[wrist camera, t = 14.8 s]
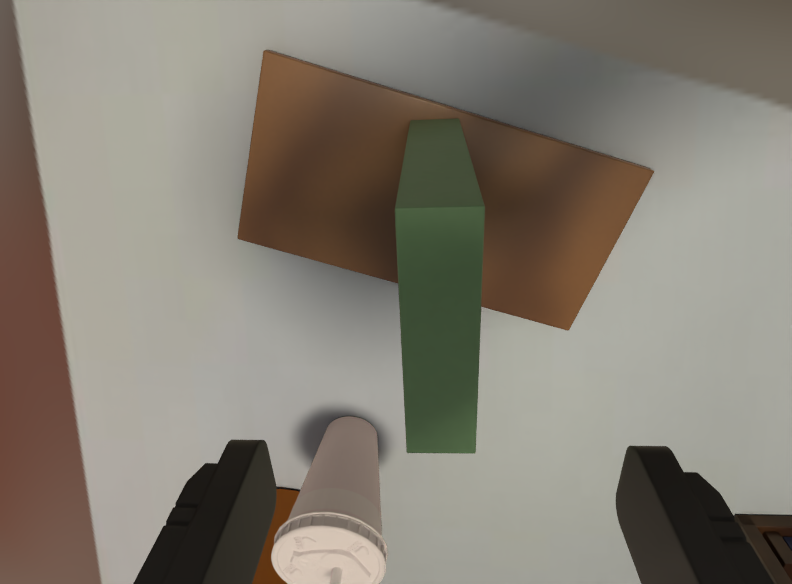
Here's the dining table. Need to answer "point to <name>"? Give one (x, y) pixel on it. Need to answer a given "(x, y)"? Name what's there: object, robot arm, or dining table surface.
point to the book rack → (770, 543)
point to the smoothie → (336, 513)
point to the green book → (439, 287)
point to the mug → (266, 576)
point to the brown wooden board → (380, 175)
